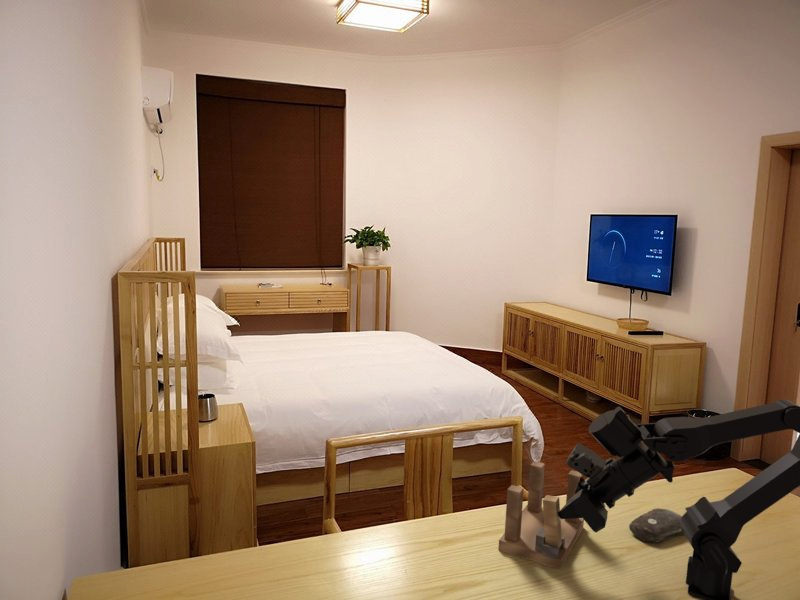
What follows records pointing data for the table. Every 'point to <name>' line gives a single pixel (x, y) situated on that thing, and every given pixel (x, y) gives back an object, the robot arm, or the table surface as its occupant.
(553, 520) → the folding leg
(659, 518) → the stone
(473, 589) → the table surface
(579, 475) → the stool seat
